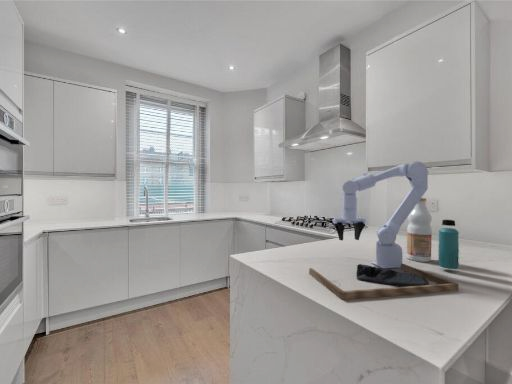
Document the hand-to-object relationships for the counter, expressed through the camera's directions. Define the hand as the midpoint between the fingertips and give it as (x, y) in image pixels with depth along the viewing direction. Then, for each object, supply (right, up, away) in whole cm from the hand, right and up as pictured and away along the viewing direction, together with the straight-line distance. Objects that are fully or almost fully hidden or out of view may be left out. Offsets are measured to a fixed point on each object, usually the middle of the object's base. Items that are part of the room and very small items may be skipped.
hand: (348, 239), depth 111 cm
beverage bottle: (+35, -10, -11) cm, 38 cm away
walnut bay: (+1, -10, -24) cm, 26 cm away
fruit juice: (+34, -10, +5) cm, 35 cm away
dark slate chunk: (+7, -10, -22) cm, 25 cm away
